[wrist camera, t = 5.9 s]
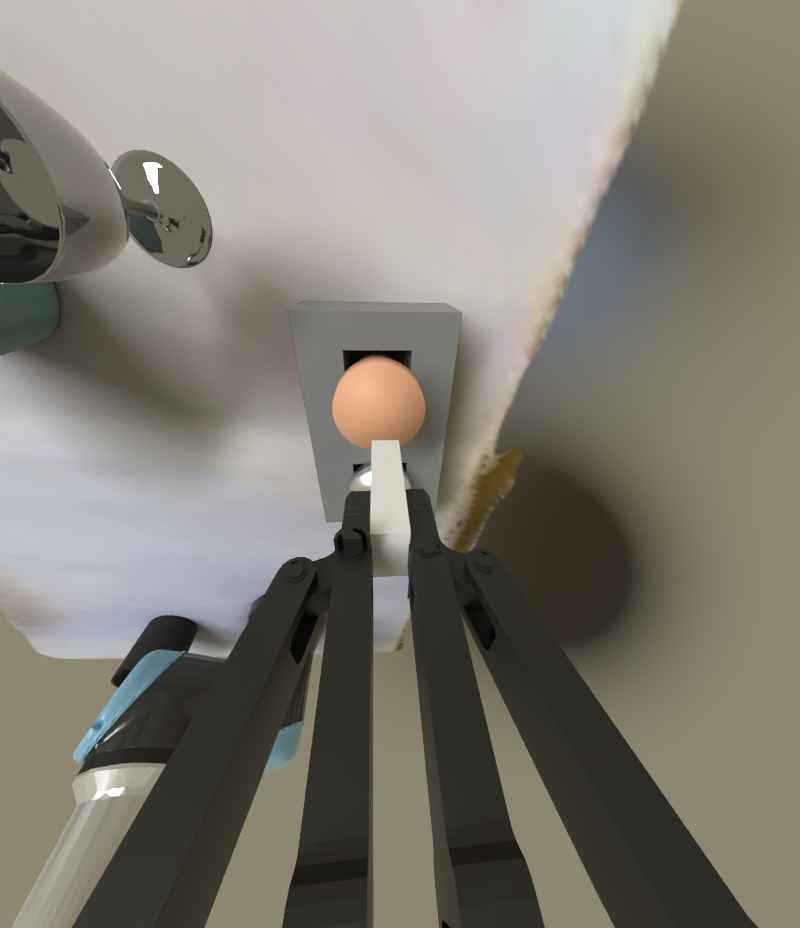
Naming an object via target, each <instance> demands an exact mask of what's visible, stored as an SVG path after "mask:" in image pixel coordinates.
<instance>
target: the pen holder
mask: <svg viewBox="0 0 800 928" xmlns="http://www.w3.org/2000/svg"><path fill="white" fill-rule="evenodd" d="M196 632H197V628H196V625H195V624H194V623H193V622H192V621H190V620H188V619H186V618H182V617H178V616H160V617H157V618H155V619H153V620H151V621H150V623H149V624H148V625H147V627H146V628H145V630H144V631H143V633H142V634H141V636H140V637H139V638H138V640H137V641H136V643H135V645H134V646H133V648H132V649H131V651H130V652H129V654H128V655H127V657H126V658H125V660H124V661H123V663H122V664H121V666H120V667H119V669H118V670H117V672H116V673H115V675H114V676H113V678H112V679H111V683H112V684H113V685H114V686H116V687H118V688H119V687H120V685H121V684H122V683H123V681H124V680H125V679H126V677H127V676H128V675H129V674H130V672H131V671H132V670H133V668H134V667H135V666H136V665H137V664H138V662H139V661H140V660H141V659H142V658H143V657H144V656H145V655H147V654H148V653H150V652H152V651H155V650H170V651H178V652H181V651H187V652H188V651H189V648H190V646H191V644H192V641H193V639H194V637H195V634H196Z"/></svg>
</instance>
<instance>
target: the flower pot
mask: <svg viewBox="0 0 800 928" xmlns="http://www.w3.org/2000/svg"><path fill="white" fill-rule="evenodd" d="M58 319H59V302H58V297H57V293H56V290H55V287H54V284H53V282H48V283H33V284H0V356H1V355H4V354H7V353H9V352H12V351H15V350H18V349H20V348H23V347H26V346H29V345H32V344H34V343H37V342H39V341H41V340H43V339H45V338H47V337H49V336H50V335H51V334H52V332H53V331H54V330H55V328H56V326H57V324H58Z"/></svg>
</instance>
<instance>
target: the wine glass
mask: <svg viewBox="0 0 800 928" xmlns="http://www.w3.org/2000/svg"><path fill="white" fill-rule="evenodd" d="M129 236H130V237H131V238H132V239H133V240H134V241H135V242H136V244H137V245H138V246H139V247H140V248H142V249H143V250H144V251H145V252H146V253H147V254H149V255H150V256H152V257H153V258H155V259H157V260H158V261H160V262H162V263H165V264H167V265H170V266H175V267H190V266H194V265H195V264H197V263H199V262H200V261H201V260H203V259H204V257H205V256H206V254H207V253H208V251H209V248H210V245H211V239H212V228H211V222H210V217H209V214H208V211H207V208H206V205H205V203H204V201H203V199H202V197H201V195H200V193H199V192H198V190H197V188H196V187H195V186H194V184H193V183H192V182H191V180H190V179H189V178H188V177H187V176H186V174H185V173H184V172H183V171H182V170H181V169H180V168H178V167H177V166H176V165H175V164H174V163H172V162H171V161H169V160H168V159H166V158H165V157H163V156H161V155H159V154H156V153H154V152H151V151H146V150H132V151H128V152H125V153H124V154H122V155H121V156H119V157H118V159H117V160H116V161H115V162H114V164H113V166H112V169H111V170H110V168H109V167H108V165H107V164H106V162H105V161H104V160H103V158H102V157H101V155H100V154H99V153H98V151H97V150H96V149H95V148H94V147H93V146H92V144H91V143H90V142H89V141H88V140H87V139H86V138H85V137H84V136H83V135H82V134H81V133H80V132H79V131H78V130H77V129H76V128H75V127H74V126H73V125H72V124H71V123H70V122H69V121H68V120H67V119H66V118H65V117H64V116H63V115H61V114H60V113H59V112H58V111H56V110H55V109H54V108H53V107H51V106H50V105H49V104H48V103H46V102H45V101H44V100H43V99H41V98H40V97H39V96H37V95H36V94H35V93H34V92H32V91H31V90H30V89H28V88H27V87H26V86H25V85H23V84H22V83H20V82H19V81H17V80H16V79H14V78H13V77H12V76H10V75H9V74H7V73H6V72H4V71H3V70H1V69H0V284H33V283H48V282H55V281H62V280H69V279H73V278H77V277H81V276H84V275H87V274H90V273H94V272H96V271H98V270H100V269H102V268H104V267H105V266H107V265H109V264H111V263H113V262H114V261H115V260H116V259H117V258H118V257H119V256H120V255H121V254H122V252H123V251H124V249H125V247H126V245H127V243H128V239H129Z"/></svg>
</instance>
